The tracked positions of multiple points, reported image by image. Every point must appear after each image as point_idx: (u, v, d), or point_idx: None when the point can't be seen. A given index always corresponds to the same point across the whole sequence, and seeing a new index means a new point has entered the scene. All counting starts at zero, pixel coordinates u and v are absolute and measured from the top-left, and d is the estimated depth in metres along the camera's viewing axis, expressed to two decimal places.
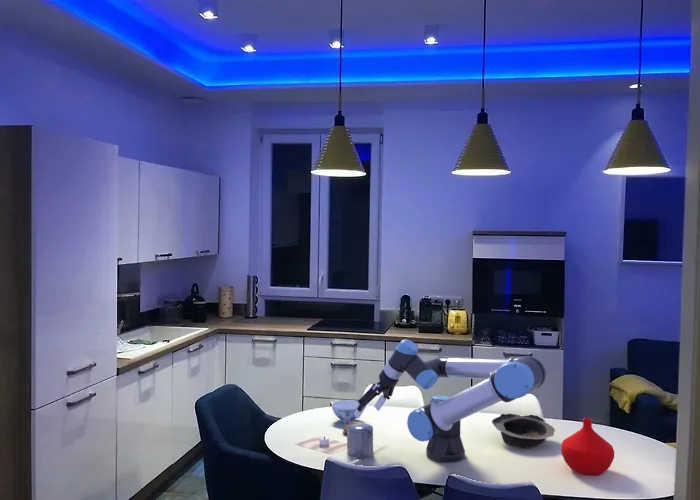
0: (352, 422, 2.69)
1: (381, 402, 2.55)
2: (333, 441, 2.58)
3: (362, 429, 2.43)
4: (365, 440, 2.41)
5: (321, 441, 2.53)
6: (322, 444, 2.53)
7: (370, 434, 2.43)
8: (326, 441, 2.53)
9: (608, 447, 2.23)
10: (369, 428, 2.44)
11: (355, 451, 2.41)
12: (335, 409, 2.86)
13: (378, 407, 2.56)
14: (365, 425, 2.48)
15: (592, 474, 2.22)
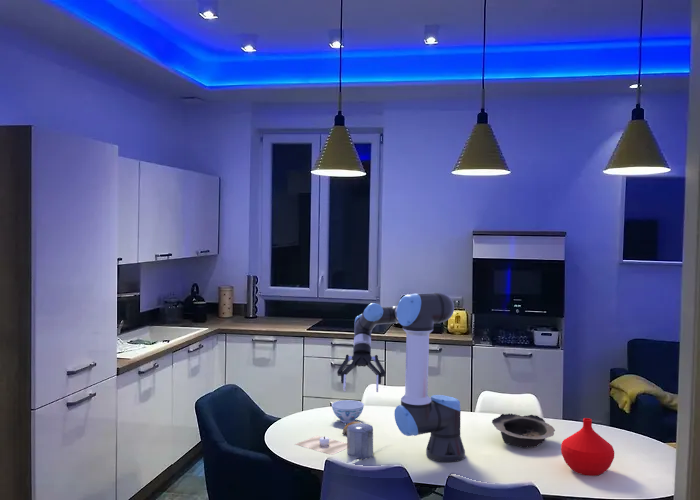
0: (352, 422, 2.69)
1: None
2: (333, 441, 2.58)
3: (362, 429, 2.43)
4: (365, 440, 2.41)
5: (321, 441, 2.53)
6: (322, 444, 2.53)
7: (370, 434, 2.43)
8: (326, 441, 2.53)
9: (608, 447, 2.23)
10: (369, 428, 2.44)
11: (355, 451, 2.41)
12: (335, 409, 2.86)
13: (376, 386, 2.56)
14: (365, 425, 2.48)
15: (592, 474, 2.22)
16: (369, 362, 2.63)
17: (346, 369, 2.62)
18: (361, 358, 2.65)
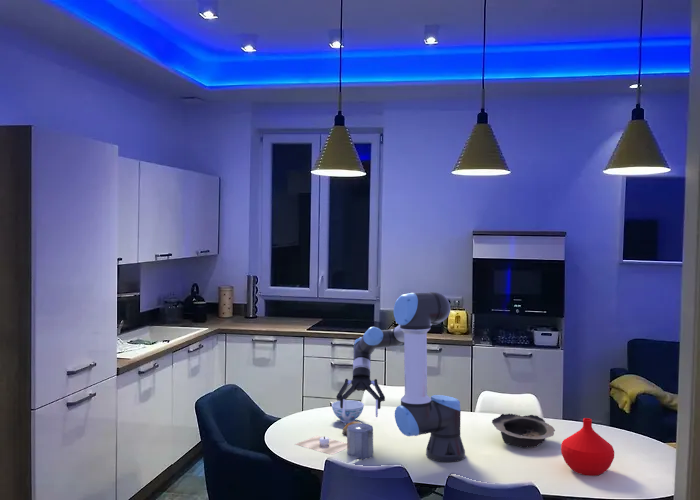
0: (351, 422, 2.69)
1: None
2: (333, 441, 2.58)
3: (362, 429, 2.43)
4: (365, 440, 2.41)
5: (321, 441, 2.53)
6: (322, 444, 2.53)
7: (370, 434, 2.43)
8: (326, 441, 2.53)
9: (608, 447, 2.23)
10: (369, 428, 2.44)
11: (355, 451, 2.41)
12: (335, 409, 2.86)
13: None
14: (365, 425, 2.48)
15: (592, 474, 2.22)
16: (368, 386, 2.62)
17: (345, 394, 2.60)
18: (360, 382, 2.64)
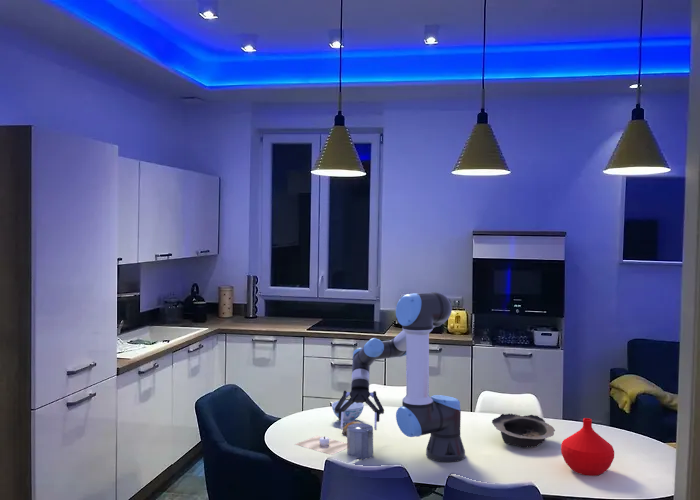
0: (351, 422, 2.69)
1: None
2: (333, 441, 2.58)
3: (362, 429, 2.43)
4: (365, 440, 2.41)
5: (321, 441, 2.53)
6: (322, 444, 2.53)
7: (370, 434, 2.43)
8: (326, 441, 2.53)
9: (608, 447, 2.23)
10: (369, 428, 2.44)
11: (355, 451, 2.41)
12: None
13: None
14: (365, 425, 2.48)
15: (592, 474, 2.22)
16: (367, 399, 2.57)
17: (344, 406, 2.56)
18: (359, 394, 2.59)
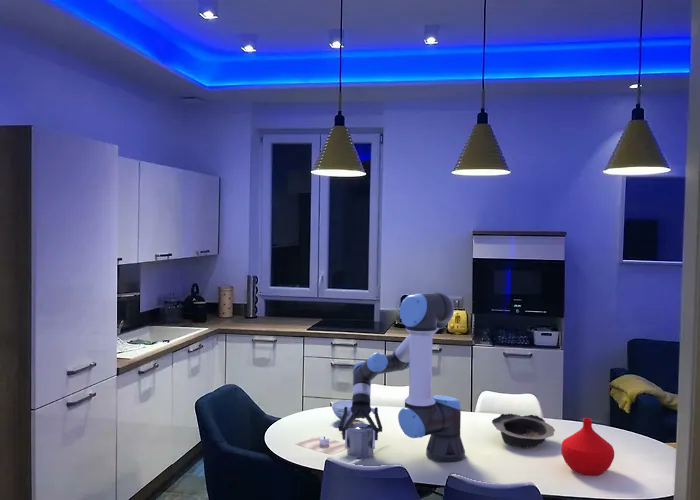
0: None
1: None
2: (333, 441, 2.58)
3: (362, 429, 2.43)
4: (365, 440, 2.41)
5: (321, 441, 2.53)
6: (322, 444, 2.53)
7: (370, 434, 2.43)
8: (326, 441, 2.53)
9: (608, 447, 2.23)
10: (369, 428, 2.44)
11: (355, 451, 2.41)
12: (335, 409, 2.86)
13: None
14: (365, 425, 2.48)
15: (592, 474, 2.22)
16: (367, 415, 2.50)
17: (347, 424, 2.49)
18: (360, 409, 2.53)
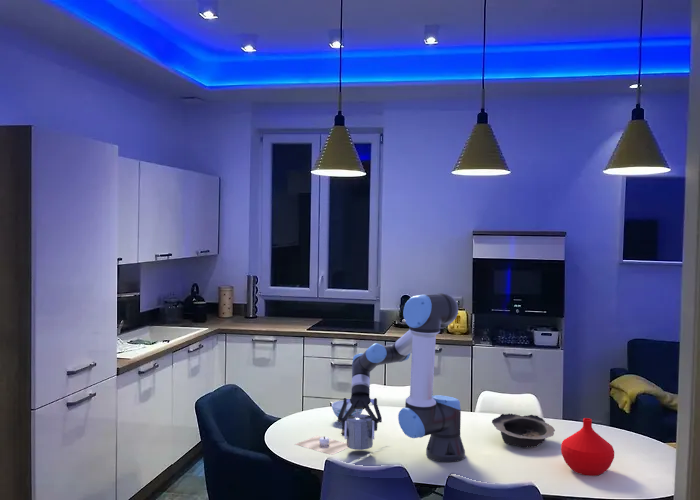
0: None
1: (372, 427, 2.45)
2: (333, 441, 2.58)
3: (361, 419, 2.43)
4: (364, 430, 2.41)
5: (321, 441, 2.53)
6: (322, 444, 2.53)
7: (369, 424, 2.43)
8: (326, 441, 2.53)
9: (608, 447, 2.23)
10: (368, 418, 2.44)
11: (355, 442, 2.41)
12: (335, 409, 2.86)
13: (372, 433, 2.43)
14: (364, 416, 2.48)
15: (592, 474, 2.22)
16: (367, 405, 2.51)
17: (346, 414, 2.49)
18: (359, 400, 2.53)
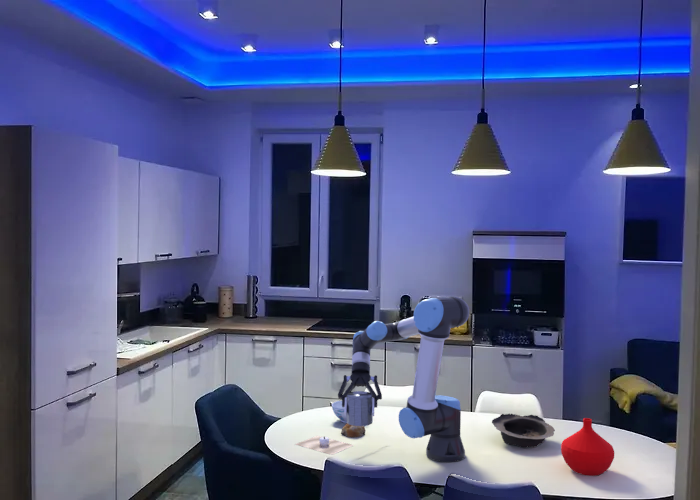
0: None
1: (372, 404, 2.45)
2: (333, 441, 2.58)
3: (361, 396, 2.43)
4: (364, 407, 2.41)
5: (321, 441, 2.53)
6: (322, 444, 2.53)
7: (369, 401, 2.42)
8: (326, 441, 2.53)
9: (608, 447, 2.23)
10: (368, 395, 2.44)
11: (355, 418, 2.41)
12: (335, 409, 2.86)
13: (372, 410, 2.43)
14: (364, 392, 2.48)
15: (592, 474, 2.22)
16: (367, 383, 2.50)
17: (346, 391, 2.48)
18: (360, 377, 2.53)
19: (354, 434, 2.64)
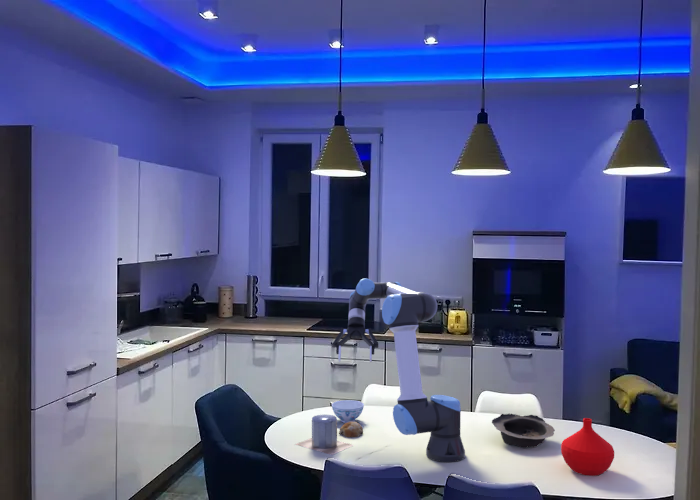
0: (348, 422, 2.69)
1: None
2: None
3: (326, 420, 2.52)
4: (328, 430, 2.50)
5: None
6: None
7: (334, 424, 2.52)
8: None
9: (608, 447, 2.23)
10: (333, 419, 2.53)
11: (319, 441, 2.50)
12: (335, 409, 2.86)
13: None
14: (329, 416, 2.57)
15: (592, 474, 2.22)
16: (363, 334, 2.77)
17: (341, 341, 2.75)
18: (355, 331, 2.79)
19: (352, 435, 2.64)
